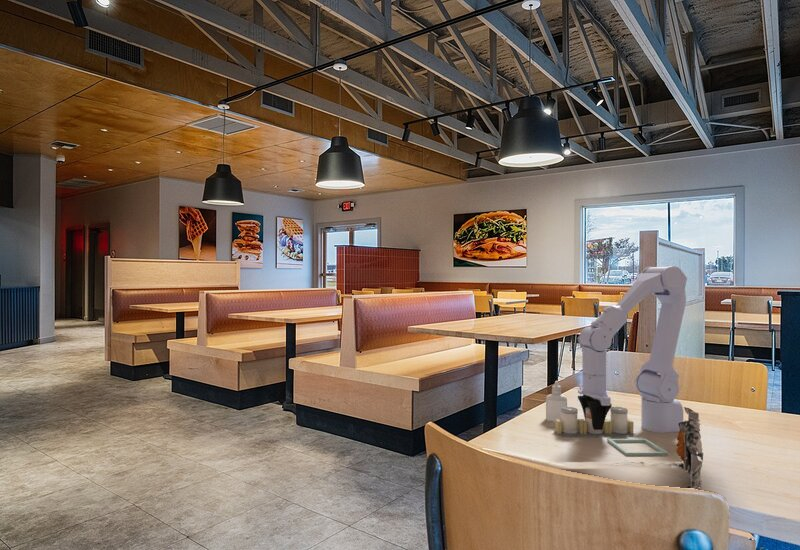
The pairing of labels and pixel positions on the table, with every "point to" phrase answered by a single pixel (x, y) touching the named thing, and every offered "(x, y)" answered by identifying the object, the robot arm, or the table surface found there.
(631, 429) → the fuse holder
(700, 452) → the meal
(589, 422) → the cylinder
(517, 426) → the table surface
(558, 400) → the eye dropper bottle
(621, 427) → the fuse
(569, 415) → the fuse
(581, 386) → the robot arm
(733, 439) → the table surface
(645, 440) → the tray
